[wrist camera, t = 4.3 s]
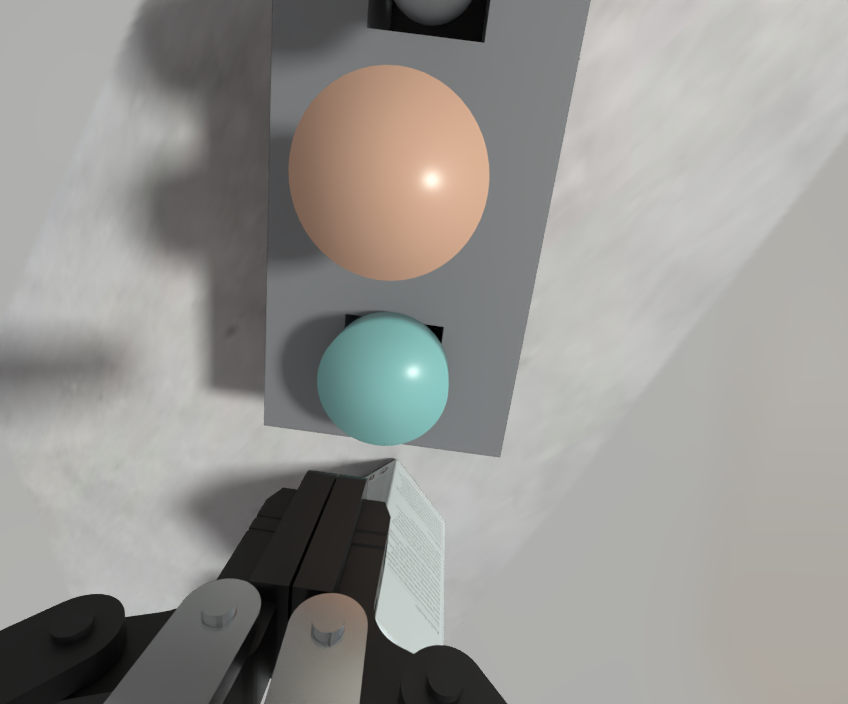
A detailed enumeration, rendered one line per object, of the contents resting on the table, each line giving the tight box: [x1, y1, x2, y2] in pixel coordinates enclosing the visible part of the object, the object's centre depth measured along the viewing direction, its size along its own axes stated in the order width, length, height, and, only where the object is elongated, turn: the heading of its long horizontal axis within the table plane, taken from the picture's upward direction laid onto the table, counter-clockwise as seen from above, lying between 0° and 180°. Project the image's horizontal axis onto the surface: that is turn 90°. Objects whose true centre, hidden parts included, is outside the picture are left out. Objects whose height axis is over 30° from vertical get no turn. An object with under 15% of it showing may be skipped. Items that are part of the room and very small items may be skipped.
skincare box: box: [365, 460, 445, 654], centre depth 25 cm, size 6×4×12 cm
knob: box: [317, 312, 449, 446], centre depth 23 cm, size 6×6×8 cm
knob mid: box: [288, 65, 489, 281], centre depth 16 cm, size 6×6×8 cm
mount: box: [264, 0, 591, 457], centre depth 22 cm, size 24×12×6 cm, turn 173°
